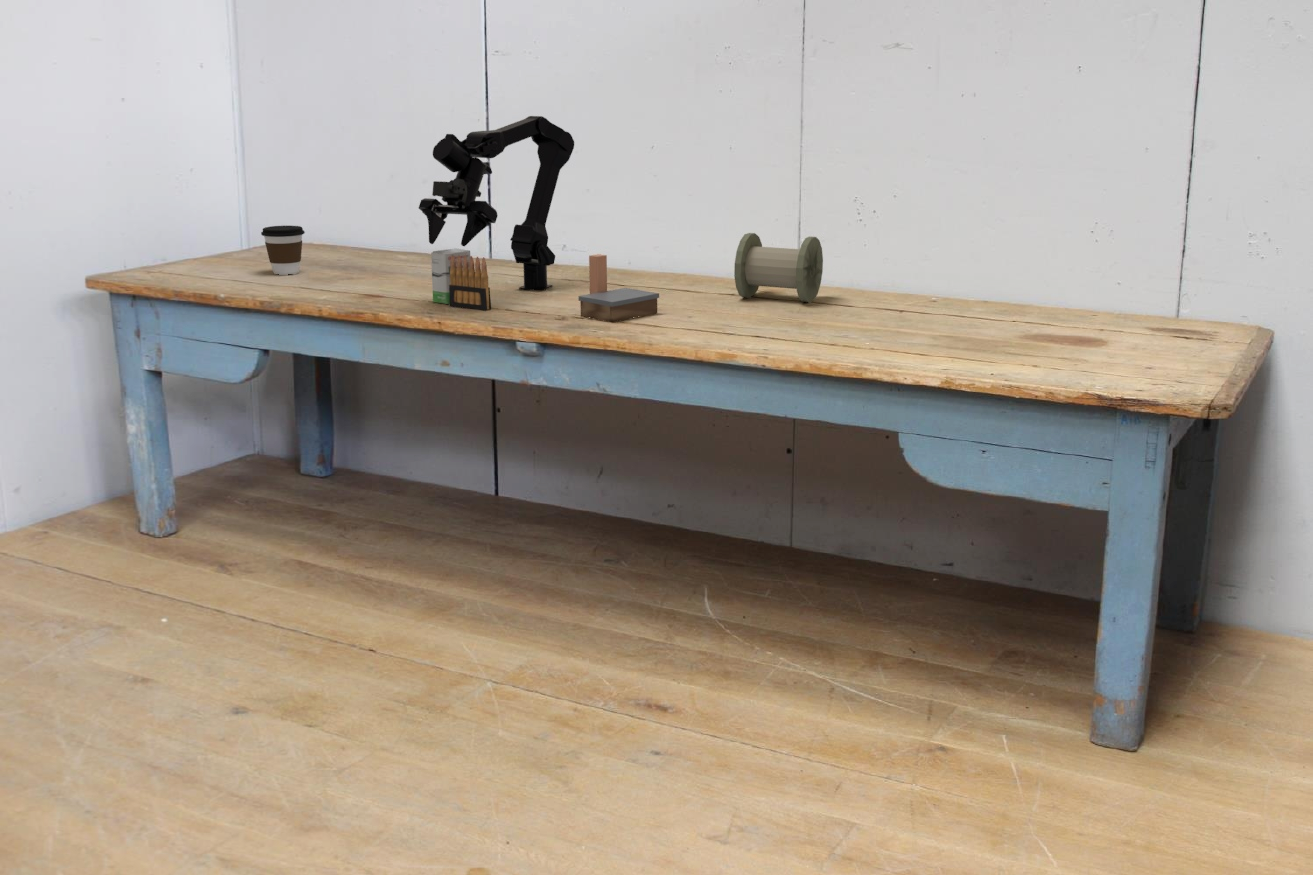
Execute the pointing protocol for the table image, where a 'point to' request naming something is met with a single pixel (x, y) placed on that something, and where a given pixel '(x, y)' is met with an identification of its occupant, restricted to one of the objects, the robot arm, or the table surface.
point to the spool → (778, 267)
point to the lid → (613, 296)
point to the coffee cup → (284, 248)
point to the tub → (618, 310)
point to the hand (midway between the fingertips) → (446, 244)
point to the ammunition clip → (469, 285)
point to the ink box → (444, 272)
